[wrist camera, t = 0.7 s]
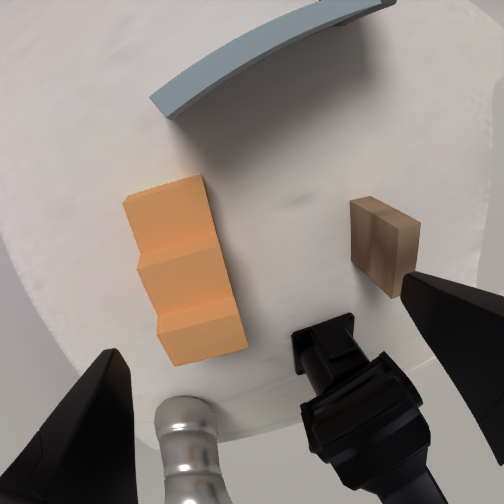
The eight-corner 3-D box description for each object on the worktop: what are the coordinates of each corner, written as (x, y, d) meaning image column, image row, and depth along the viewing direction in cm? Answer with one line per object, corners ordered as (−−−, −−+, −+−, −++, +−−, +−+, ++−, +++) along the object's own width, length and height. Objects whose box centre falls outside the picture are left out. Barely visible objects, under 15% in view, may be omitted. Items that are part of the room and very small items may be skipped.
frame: (369, 254, 23) (411, 290, 18) (351, 260, 23) (391, 299, 18) (328, -40, 11) (369, -70, 6) (305, -43, 11) (342, -78, 6)
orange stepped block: (128, 195, 17) (106, 224, 12) (200, 173, 18) (207, 194, 12) (173, 313, 22) (174, 366, 17) (233, 297, 22) (248, 347, 17)
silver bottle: (155, 385, 25) (175, 577, 7) (220, 391, 27) (266, 568, 9) (152, 415, 27) (168, 573, 10) (207, 420, 29) (242, 568, 12)
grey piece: (338, 3, 13) (384, -22, 8) (351, 22, 14) (401, 2, 9) (158, 102, 14) (144, 92, 9) (175, 124, 15) (170, 122, 10)
